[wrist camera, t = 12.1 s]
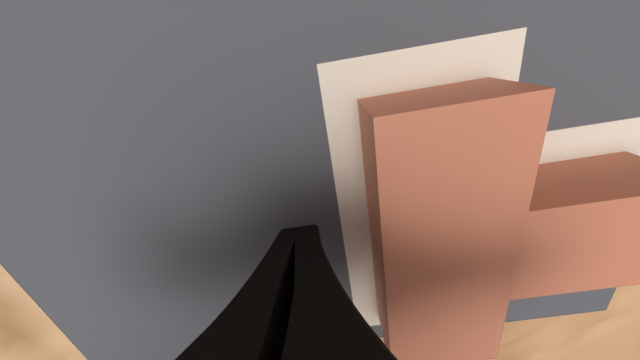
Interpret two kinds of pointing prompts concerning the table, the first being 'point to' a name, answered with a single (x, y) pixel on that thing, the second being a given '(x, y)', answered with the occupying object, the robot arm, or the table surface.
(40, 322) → the table surface
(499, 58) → the board
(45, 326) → the table surface
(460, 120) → the t block
